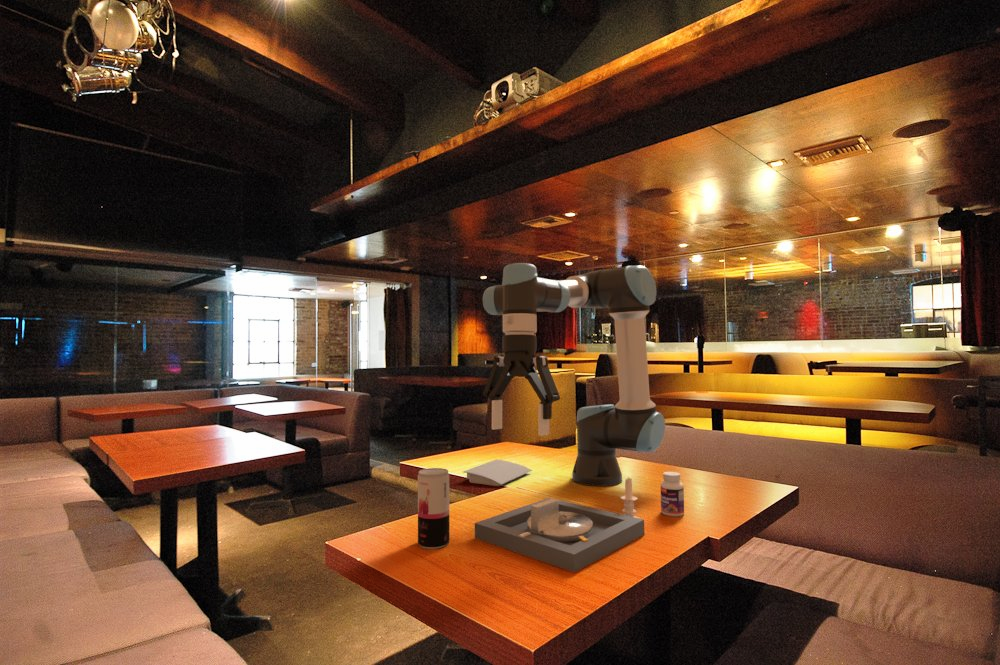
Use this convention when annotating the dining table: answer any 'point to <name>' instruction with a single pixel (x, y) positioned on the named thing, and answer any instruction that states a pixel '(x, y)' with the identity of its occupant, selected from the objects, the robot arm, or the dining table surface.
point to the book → (496, 472)
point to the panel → (571, 556)
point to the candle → (629, 499)
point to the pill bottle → (672, 495)
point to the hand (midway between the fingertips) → (519, 432)
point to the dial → (558, 523)
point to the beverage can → (433, 508)
